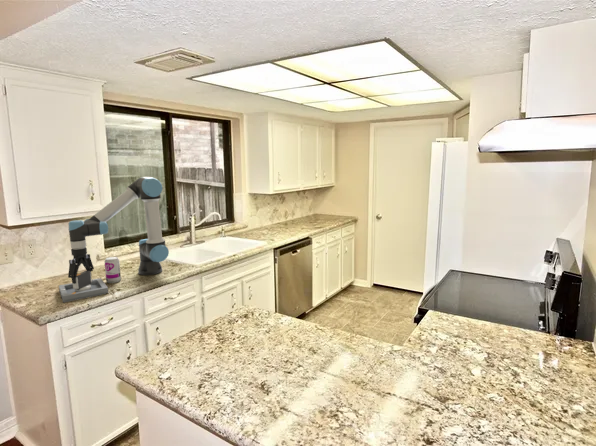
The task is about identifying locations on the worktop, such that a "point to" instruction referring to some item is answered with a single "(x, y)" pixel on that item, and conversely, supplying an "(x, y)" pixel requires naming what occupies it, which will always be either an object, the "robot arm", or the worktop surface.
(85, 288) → the dial
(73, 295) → the dial panel
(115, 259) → the supplement can
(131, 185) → the robot arm
